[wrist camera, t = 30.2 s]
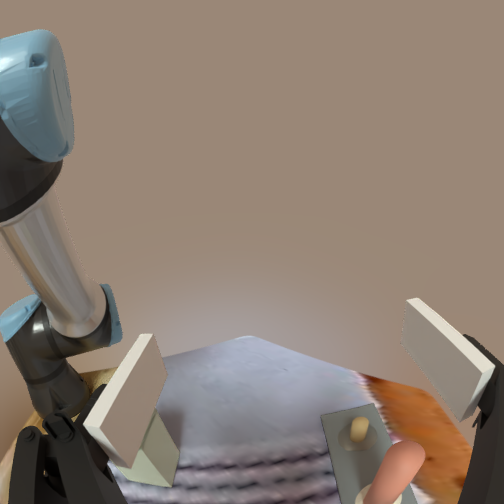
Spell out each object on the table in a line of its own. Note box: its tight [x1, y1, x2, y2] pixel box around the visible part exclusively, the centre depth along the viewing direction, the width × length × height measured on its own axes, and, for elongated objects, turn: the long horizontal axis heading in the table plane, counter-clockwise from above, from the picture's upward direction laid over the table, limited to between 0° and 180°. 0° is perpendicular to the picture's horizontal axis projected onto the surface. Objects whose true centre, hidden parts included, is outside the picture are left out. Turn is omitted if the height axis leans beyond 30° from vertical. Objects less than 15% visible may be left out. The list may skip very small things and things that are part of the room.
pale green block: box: [109, 408, 180, 488], centre depth 28 cm, size 7×7×11 cm
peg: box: [363, 441, 425, 504], centre depth 17 cm, size 4×4×12 cm
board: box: [321, 403, 418, 504], centre depth 24 cm, size 24×9×4 cm, turn 0°
